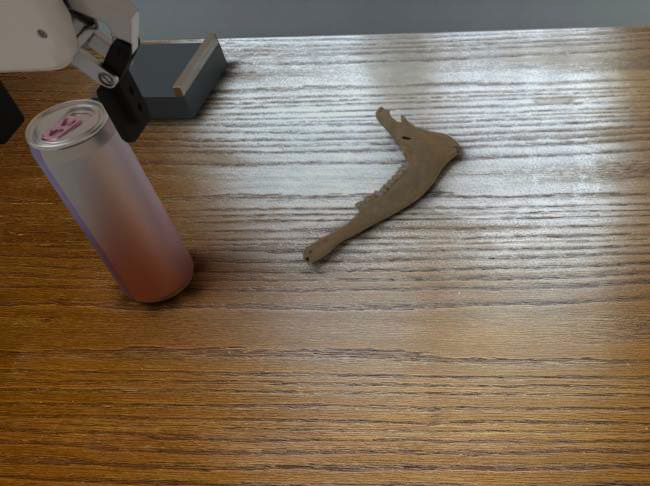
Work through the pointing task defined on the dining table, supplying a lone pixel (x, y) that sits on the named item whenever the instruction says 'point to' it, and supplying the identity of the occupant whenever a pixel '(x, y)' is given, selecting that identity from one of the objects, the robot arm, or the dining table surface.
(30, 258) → the dining table surface
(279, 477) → the dining table surface
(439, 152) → the jawbone
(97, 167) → the beverage can
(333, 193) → the dining table surface
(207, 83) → the grey ledged base
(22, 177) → the dining table surface
